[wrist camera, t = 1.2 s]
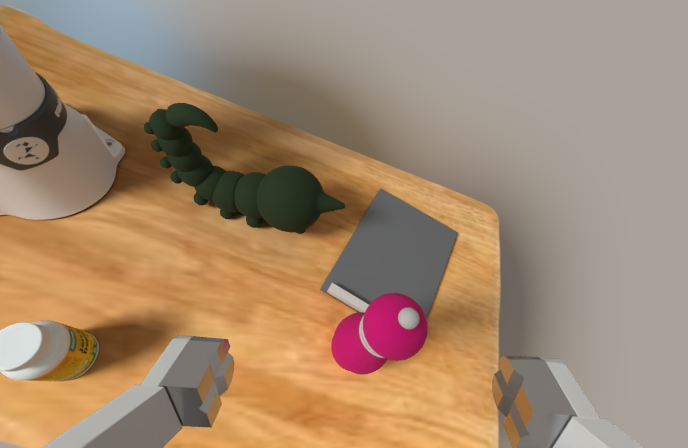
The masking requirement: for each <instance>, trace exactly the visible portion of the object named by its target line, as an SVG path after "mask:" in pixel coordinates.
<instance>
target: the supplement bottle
mask: <svg viewBox="0 0 688 448" xmlns="http://www.w3.org/2000/svg"><path fill="white" fill-rule="evenodd" d="M98 351H99V344H98V341H97V339H96V338H95V337H94V336H93V335H92V334H90V333H88V332H86V331H83V330H79V329H76V328H73V327H70V326H67V325H64V324H61V323H58V322H54V321H36V322H32V323H28V322H22V323H16V324H13V325H10V326H8V327H6V328H4V329H2V330H1V331H0V371H1V373H2V374H4V375H5V376H6V377H8V378H11V379H15V380H28V381H68V380H72V379H74V378H77V377H79V376H80V375H82V374H83V373H85V372H86V371H87V370H88V369H89V368H90V367H91V366H92V365H93V363H94V362H95V360H96V358H97V355H98Z"/></svg>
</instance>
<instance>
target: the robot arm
mask: <svg viewBox="0 0 688 448" xmlns="http://www.w3.org/2000/svg"><path fill="white" fill-rule="evenodd" d="M110 145H111V146H110ZM124 154H125V148H124V147H123V146H122V144H121V143H119V142H118V141H116V140H115V139H114V138H112V137H111V136H109V135H108V134H106V133H105V132H103V131H102V130H101V129H99V128H98V127H96V126H95V125H93V124H92V122H91V121H90V120H89V118H88V117H87V116H86V115H84V114H80V113H79V112H78V111H76V110H75V109H73V108H71V107H70V106H68V105H66V104H65V103H63V102H62V101H61V100H60V98H59V96H58V94H57V93H56V91H55V90H54V89H53V88H52V87H51V86H50V85H49V84H48V83H47V81H46V80H45V79H44V78H43V77H42V76H41V75H39V74H37V73H36V72H34V70H33V69H32V67H31V66H30V65H29V63H28V62H27V60H26V59H25V58H24V56H23V55H22V54H21V52H20V51H19V49H18V48H17V47H16V45H15V44H14V43H13V41H12V40H11V38H10V37H9V36H8V34H7V33H6V32H5V30H4V29H3V27H2V26H1V25H0V215H12V216H17V217H21V218H26V219H35V220H45V219H55V218H60V217H65V216H68V215H72V214H74V213H77V212H79V211H82V210H84V209H86V208H88V207H89V206H91V205H93V204H94V203H96V202H97V201H98V200H99V199H101V198H102V197H103V196H104V195H105V194H106V193H107V191H108V190H109V189H110V187H111V186H112V184H113V182H114V179H115V175H116V168H117V164H118V162H119V161H120V160H121V158H122V157H123V156H124ZM229 348H230V344H229V341H228V339H219V338H207V337H196V336H183V335H178V336H176V337H175V338H174V339H172V341H171V342H170V343H169V345H168V346H167V348H166V349H165V351H164V352H163V353H162V355H161V356H160V358H159V359H158V360H157V362H156V363H155V365H154V366H153V368H152V369H151V370H150V372H149V373H148V375H147V376H146V377H145V379H144V380H143V382H142V383H141V385H134V386H133V387H131V388H130V389H128V390H127V391H125V392H124V393H122V394H121V395H119V396H118V397H116V398H115V399H113V400H112V401H110V402H109V403H107V404H106V405H104V406H103V407H101V408H100V409H98V410H97V411H95V412H94V413H93V414H91V415H90V416H88V417H87V418H85V419H84V420H82V421H81V422H79V423H78V424H76V425H75V426H73V427H72V428H70V429H69V430H67V431H66V432H64V433H63V434H61V435H60V436H58V437H57V438H55V439H54V440H52V441H51V442H50V443H48V444H47V445H45V446H44V447H42V448H163V447H164V446H165V445H166V444H167V443H168V442H169V441H170V440H171V439H172V438H173V437H174V436H175V435H176V434H177V433H178V432H179V431H180V430H181V429H182V426H191V427H212V426H213V423H214V421H215V419H216V416H217V414H218V412H219V409H220V407H221V405H222V403H221V398H220V396H221V395H222V394H223V393H224V392H225V391H226V390H228V388H229V386H230V383H231V381H232V377H233V372H234V360H233V356H231V355H230V354H229V353H228V350H229ZM499 366H500V369H501V370H500V371H498V372H497V373H495V374H494V377H493V381H492V392H493V396H494V400H495V403H496V406H497V409H498V410H499V411H501V413H502V414H503V415H504V416H505V417H506V419H505V422H504V428H505V430H506V432H507V436H508V438H509V441H510V444H511V447H512V448H643V447H642V446H641V445H640V444H638V443H637V442H636V441H634V440H633V439H632V438H631V437H629V436H628V435H627V434H625V433H624V432H623V431H622V430H620V429H619V428H618V427H616V426H615V425H614V424H612V423H611V422H610V421H609V420H607V419H602V418H600V417H599V415H598V414H597V412H596V410H595V409H594V408H593V406H592V404H591V403H590V401H589V400H588V398H587V397H586V395H585V394H584V392H583V391H582V389H581V388H580V386H579V384H578V383H577V381H576V380H575V378H574V377H573V375H572V374H571V372H570V371H569V369H568V368H567V366H566V365H565V363H564V362H563V361H562V360H560V359H554V358H553V359H552V358H539V357H522V356H503V357H501V359H500V361H499Z"/></svg>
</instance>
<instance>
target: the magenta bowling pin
mask: <svg viewBox="0 0 688 448" xmlns="http://www.w3.org/2000/svg"><path fill="white" fill-rule="evenodd" d="M426 337H427V320H426V317H425V314H424V312H423V310H422V308H421V307H420V306H419V305H418V304H417V303H416V302H415V301H414V300H413V299H412V298H410V297H408V296H406V295H403V294H400V293H387V294H384V295H381V296H379V297H377V298H376V299H374V300H373V301H372V302H371V303H370V305H369V306H368V307H367V309H366V311H365V313H364V312H359V313H355V314H352V315H350V316H348V317H346V318H345V319H343V320H342V321H341V322H340V324H339V325H338V327H337V329H336V331H335V334H334V336H333V339H332V354H333V357H334V359H335V360H336V362H337V363H338V364H339V365H340V366H341V367H342V368H344V369H346V370H348V371H351V372H353V373H356V374H369V373H372V372H374V371H376V370H378V369H379V368H380V367H382V366H383V365H384V363H385V362H386V360H387V359H389V360H395V361H398V360H405V359H408V358H410V357H412V356H413V355H415V354H416V353H417V352H418V351H419V350H420V349H421V348H422V347H423V344H424V342H425V340H426Z"/></svg>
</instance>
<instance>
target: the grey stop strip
mask: <svg viewBox="0 0 688 448" xmlns="http://www.w3.org/2000/svg"><path fill="white" fill-rule="evenodd" d="M327 292H328V293H329V294H331V295H333V296H334V297H336V298H338V299H339V300H341V301H343V302H344V303H346V304H347V305H349V306H351V307H352V308H354V309H356V310H357V311H359V312H364V313H365V311H366V309H367V307H368V306H369V304H367V303H365V302H364V301H362V300H360V299H359V298H357V297H355V296H354V295H352V294H350V293H349V292H347V291H345V290H344V289H342V288H340V287H339V286H337V285H335V284H334V283H332V284H331V285H330V287H329V289H328V291H327Z"/></svg>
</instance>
